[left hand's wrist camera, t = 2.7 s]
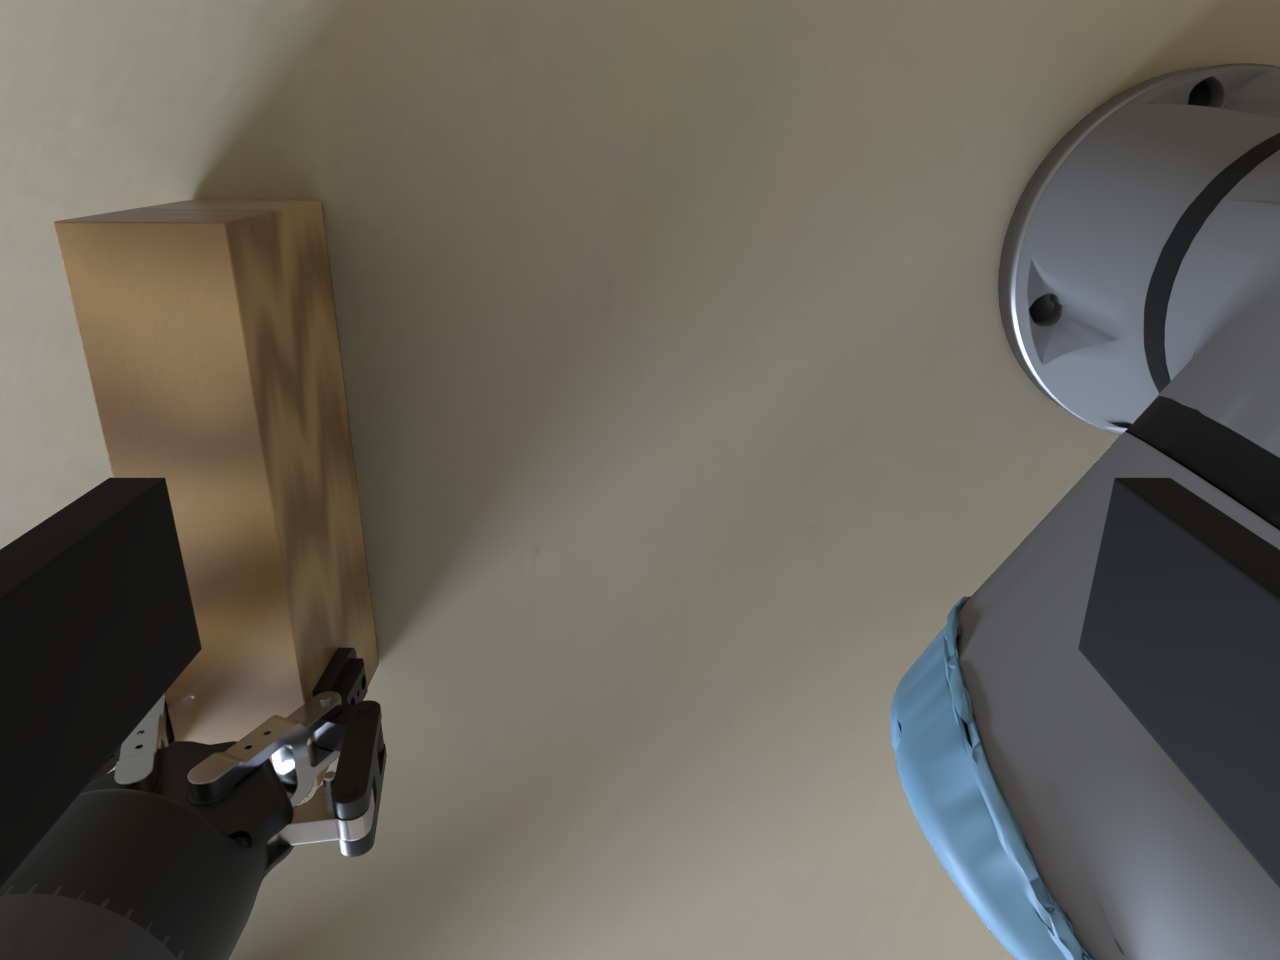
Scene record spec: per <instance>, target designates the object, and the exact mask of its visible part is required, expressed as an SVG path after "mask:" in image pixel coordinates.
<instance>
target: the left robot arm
mask: <svg viewBox="0 0 1280 960" xmlns="http://www.w3.org/2000/svg"><path fill="white" fill-rule="evenodd" d="M998 290H999V306H1000V312H1001V318H1002V323H1003V326H1004V330H1005V333H1006V337H1007V339H1008V342H1009V344H1010V347H1011V349H1012V352H1013V354H1014V355H1015V357H1016V359H1017V361H1018V363H1019V365H1020V366H1021V367H1022V369H1023V370H1024V372H1025V373H1026V375H1027V376H1028V377H1029V378H1030V380H1031V381H1032V382H1033V383H1034V384H1035V385H1036V386H1037V387H1038V388H1039V389H1040V390H1041V391H1042V392H1043V393H1044V394H1045V395H1046V396H1048V397H1049V398H1050V399H1051V400H1053V401H1054V402H1056V403H1057V404H1059V405H1060V406H1061V407H1063V408H1064V409H1066V410H1067V411H1069V412H1070V413H1072V414H1074V415H1075V416H1077V417H1078V418H1080V419H1082V420H1084V421H1085V422H1087V423H1089V424H1091V425H1093V426H1096V427H1098V428H1101V429H1103V430H1106V431H1109V432H1112V433H1116V434H1119V435H1121V436H1120V437H1119V438H1118V439H1117V440H1116V441H1115V442H1114V443H1113V445H1112V446H1111V447H1110V448H1109V449H1108V450H1107V451H1106V452H1105V453H1104V454H1103V456H1102V457H1101V458H1100V459H1099V460H1098V461H1097V462H1096V463H1095V464H1094V465H1093V466H1092V467H1091V468H1090V470H1089V471H1088V472H1087V473H1086V474H1085V475H1084V476H1083V477H1082V478H1081V479H1080V480H1079V481H1078V482H1077V484H1076V485H1075V486H1074V487H1073V488H1072V489H1071V490H1070V491H1069V492H1068V493H1067V494H1066V495H1065V496H1064V498H1063V499H1062V500H1061V501H1060V502H1059V503H1058V504H1057V505H1056V506H1055V507H1054V508H1053V509H1052V510H1051V511H1050V513H1049V514H1048V515H1047V516H1046V517H1045V518H1044V519H1043V520H1042V521H1041V522H1040V523H1039V524H1038V525H1037V527H1036V528H1035V529H1034V530H1033V531H1032V532H1031V533H1030V534H1029V535H1028V536H1027V537H1026V538H1025V539H1024V541H1023V542H1022V543H1021V544H1020V545H1019V546H1018V547H1017V548H1016V549H1015V550H1014V551H1013V552H1012V553H1011V554H1010V556H1009V557H1008V558H1007V559H1006V560H1005V561H1004V562H1003V563H1002V564H1001V565H1000V566H999V567H998V568H997V570H996V571H995V572H994V573H993V574H992V575H991V576H990V577H989V578H988V579H987V580H986V581H985V582H984V584H983V585H982V586H981V587H980V588H979V589H978V590H977V591H976V592H975V593H974V594H973V595H972V596H971V597H963V598H962V599H961V600H960V601H958V602H957V603H956V604H955V605H954V606H953V608H952V609H951V611H950V613H949V615H948V618H947V623H946V626H945V627H944V628H943V629H942V631H941V632H940V633H939V634H938V635H937V637H936V638H935V639H934V640H933V641H932V643H931V644H930V645H929V646H928V647H927V649H926V650H925V651H924V652H923V653H922V655H921V656H920V657H919V658H918V659H917V661H916V662H915V663H914V664H913V665H912V667H911V668H910V669H909V670H908V671H907V673H906V674H905V675H904V677H903V678H902V680H901V681H900V683H899V685H898V687H897V690H896V692H895V695H894V698H893V702H892V706H891V712H890V729H891V742H892V745H893V748H894V752H895V755H896V765H897V771H898V774H899V777H900V780H901V783H902V785H903V788H904V790H905V793H906V795H907V798H908V801H909V803H910V805H911V807H912V810H913V812H914V814H915V816H916V818H917V820H918V822H919V824H920V826H921V828H922V830H923V832H924V834H925V836H926V837H927V839H928V841H929V843H930V844H931V846H932V848H933V850H934V851H935V853H936V855H937V856H938V858H939V860H940V861H941V863H942V864H943V866H944V868H945V869H946V871H947V872H948V874H949V875H950V877H951V878H952V880H953V881H954V883H955V884H956V885H957V887H958V888H959V890H960V891H961V893H962V894H963V896H964V897H965V898H966V900H967V901H968V902H969V904H970V905H971V906H972V908H973V909H974V910H975V912H976V913H977V914H978V916H979V917H980V918H981V919H982V921H983V922H984V923H985V925H986V926H987V927H988V928H989V929H990V931H991V932H992V933H993V934H994V935H995V937H996V938H997V939H998V940H999V941H1000V942H1001V943H1002V945H1003V946H1004V947H1005V948H1006V949H1007V950H1008V951H1009V952H1010V953H1011V954H1012V955H1013V956H1014V957H1015V958H1016V959H1017V960H1280V67H1277V66H1272V65H1262V64H1227V65H1218V66H1209V67H1201V68H1192V69H1186V70H1181V71H1177V72H1172V73H1168V74H1165V75H1162V76H1159V77H1156V78H1153V79H1150V80H1148V81H1145V82H1143V83H1141V84H1138V85H1136V86H1134V87H1132V88H1130V89H1128V90H1126V91H1124V92H1122V93H1120V94H1119V95H1117V96H1115V97H1113V98H1112V99H1110V100H1109V101H1107V102H1106V103H1104V104H1103V105H1101V106H1100V107H1098V108H1096V109H1095V110H1094V111H1093V112H1091V113H1090V114H1089V115H1088V116H1086V117H1085V118H1084V119H1083V120H1081V121H1080V122H1079V123H1078V124H1077V125H1076V126H1075V127H1074V128H1073V129H1071V130H1070V131H1069V132H1068V133H1067V134H1066V135H1065V136H1064V137H1063V138H1062V139H1061V140H1060V142H1059V143H1058V144H1057V145H1056V146H1055V147H1054V148H1053V149H1052V150H1051V152H1050V153H1049V154H1048V156H1047V157H1046V158H1045V159H1044V161H1043V162H1042V163H1041V165H1040V166H1039V167H1038V169H1037V170H1036V172H1035V174H1034V175H1033V177H1032V178H1031V180H1030V181H1029V183H1028V185H1027V187H1026V188H1025V190H1024V192H1023V194H1022V196H1021V198H1020V200H1019V202H1018V204H1017V206H1016V209H1015V211H1014V213H1013V216H1012V218H1011V221H1010V224H1009V227H1008V230H1007V233H1006V236H1005V241H1004V245H1003V249H1002V254H1001V261H1000V268H999V287H998ZM201 649H202V647H201V642H200V637H199V633H198V628H197V623H196V619H195V614H194V610H193V605H192V600H191V596H190V591H189V586H188V582H187V577H186V572H185V568H184V563H183V558H182V554H181V549H180V544H179V540H178V535H177V530H176V526H175V521H174V516H173V512H172V507H171V502H170V498H169V493H168V488H167V484H166V479H165V478H109V479H107V480H106V481H104V482H103V483H101V484H100V485H98V486H97V487H95V488H93V489H92V490H90V491H89V492H87V493H86V494H84V495H83V496H81V497H80V498H78V499H77V500H75V501H74V502H72V503H71V504H69V505H68V506H66V507H65V508H63V509H62V510H60V511H59V512H57V513H56V514H54V515H52V516H51V517H49V518H48V519H46V520H45V521H43V522H42V523H40V524H39V525H37V526H36V527H34V528H33V529H31V530H30V531H28V532H27V533H25V534H24V535H22V536H21V537H19V538H18V539H16V540H15V541H13V542H11V543H10V544H8V545H7V546H5V547H4V548H2V549H1V550H0V888H1V887H2V886H3V885H4V883H5V882H6V881H7V880H8V879H9V877H10V876H11V875H12V874H13V873H14V871H15V870H16V869H17V868H18V867H19V866H20V864H21V863H22V862H23V861H24V860H25V858H26V857H27V856H28V855H29V854H30V852H31V851H32V850H33V849H34V848H35V847H36V845H37V844H38V843H39V842H40V841H41V839H42V838H43V837H44V836H45V835H46V833H47V832H48V831H49V830H50V829H51V828H52V826H53V825H54V824H55V823H56V822H57V820H58V819H59V818H60V817H61V816H62V814H63V813H64V812H65V811H66V810H67V809H68V807H69V806H70V805H71V804H72V803H73V801H74V800H75V799H76V798H77V797H78V795H79V794H80V793H81V792H82V791H83V790H84V788H85V787H86V786H87V785H88V784H89V782H90V781H91V780H92V779H93V778H94V776H95V775H96V774H97V773H98V772H99V771H100V769H101V768H102V767H103V766H104V765H105V763H106V762H107V761H108V760H109V759H110V757H111V756H112V755H113V754H114V753H115V752H116V750H117V749H118V748H119V747H120V746H121V744H122V743H123V742H124V741H125V740H126V738H127V737H128V736H129V735H130V734H131V733H132V731H133V730H134V729H135V728H136V727H137V725H138V724H139V723H140V722H141V721H142V719H143V718H144V717H145V716H146V715H147V714H148V712H149V711H150V710H151V709H152V708H153V706H154V705H155V704H156V703H157V702H158V700H159V699H160V698H161V697H162V696H163V695H164V693H165V692H166V691H167V690H168V689H169V687H170V686H171V685H172V684H173V683H174V681H175V680H176V679H177V678H178V677H179V676H180V674H181V673H182V672H183V671H184V670H185V668H186V667H187V666H188V665H189V664H190V662H191V661H192V660H193V659H194V658H195V657H196V655H197V654H198V653H199V652H200V651H201Z"/></svg>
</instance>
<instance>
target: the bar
mask: <svg viewBox="0 0 1280 960" xmlns="http://www.w3.org/2000/svg"><path fill="white" fill-rule="evenodd" d="M54 226H55V230H56V235H57V239H58V243H59V248H60V252H61V256H62V260H63V265H64V269H65V273H66V277H67V282H68V286H69V290H70V294H71V299H72V303H73V307H74V311H75V316H76V320H77V324H78V329H79V333H80V337H81V341H82V346H83V350H84V354H85V358H86V363H87V367H88V371H89V375H90V380H91V384H92V388H93V392H94V397H95V401H96V405H97V410H98V414H99V418H100V422H101V427H102V431H103V435H104V439H105V444H106V448H107V452H108V456H109V461H110V465H111V469H112V473H113V478H165V479H166V484H167V488H168V493H169V498H170V502H171V507H172V512H173V516H174V521H175V526H176V530H177V535H178V540H179V544H180V549H181V554H182V558H183V563H184V568H185V572H186V577H187V582H188V586H189V591H190V596H191V600H192V605H193V610H194V614H195V619H196V623H197V628H198V633H199V637H200V642H201V647H202V649H201V651H200V652H199V653H198V654H197V655H196V657H195V658H194V659H193V660H192V661H191V662H190V664H189V665H188V666H187V667H186V668H185V670H184V671H183V672H182V673H181V674H180V676H179V677H178V678H177V679H176V680H175V681H174V683H173V684H172V685H171V686H170V687H169V689H168V690H167V691H166V692H165V693H164V695H165V699H166V704H167V708H168V712H169V716H170V721H171V725H172V729H173V734H174V738H175V741H193V742H198V743H203V744H207V745H212V744H219V743H225V742H232V741H239V740H241V739H242V738H243V737H245V736H246V735H247V734H249V733H250V732H251V731H253V730H254V729H256V728H257V727H258V726H260V725H261V724H262V723H264V722H265V721H266V720H268V719H269V718H270V717H272V716H274V715H279V716H282V717H285V718H286V717H288V716H289V715H290V714H292V713H293V712H294V711H296V710H297V709H298V708H300V707H301V706H302V705H304V704H305V703H306V702H308V701H309V700H310V699H312V698H313V693H312V691H313V690H314V688H315V686H316V684H317V683H318V681H319V679H320V678H321V676H322V674H323V672H324V671H325V669H326V667H327V666H328V664H329V662H330V660H331V659H332V657H333V655H334V654H335V652H336V650H337V649H338V648H339V647H342V648H355V650H356V655H357V658H363V661H364V667H365V674H366V682H367V687H368V685H369V683H370V681H371V679H372V677H373V675H374V673H375V671H376V669H377V667H378V665H379V659H378V651H377V643H376V635H375V627H374V619H373V611H372V603H371V595H370V587H369V579H368V571H367V563H366V555H365V547H364V539H363V531H362V523H361V515H360V507H359V499H358V491H357V483H356V475H355V467H354V459H353V451H352V443H351V435H350V427H349V419H348V411H347V403H346V395H345V387H344V379H343V371H342V363H341V355H340V347H339V339H338V331H337V323H336V315H335V307H334V299H333V291H332V283H331V275H330V267H329V259H328V251H327V243H326V235H325V227H324V219H323V211H322V203H321V201H301V200H187V201H181V202H174V203H168V204H162V205H156V206H149V207H143V208H137V209H130V210H124V211H118V212H111V213H105V214H99V215H92V216H86V217H80V218H73V219H67V220H61V221H55V222H54ZM314 740H315V738H314V733H313V734H312V735H311V736H310V737H309V739H308V742H307V746H308V745H309V744H311V743H312V742H313V741H314ZM269 759H270V761H271V763H272V765H273V761H272V756H270V757H269ZM273 767H274V766H273ZM328 767H329V766H328ZM328 767H326V768H325V769H324V770H323V771H322V772H321V773H320V774H318V775H317V777H316V778H315V781H314V785H313V787H319V785H320V783H321V781H322V779H323V775H324V774H325V773H326V771H327V769H328Z"/></svg>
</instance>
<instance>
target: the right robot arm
mask: <svg viewBox="0 0 1280 960" xmlns="http://www.w3.org/2000/svg"><path fill="white" fill-rule="evenodd" d="M367 691H368V689H367V682H366V674H365V667H364V661H363V658H357V655H356V650H355V648H342V647H339V648H338V649H337V650H336V652H335V654H334V655H333V657H332V659H331V660H330V662H329V664H328V666H327V667H326V669H325V671H324V672H323V674H322V676H321V678H320V679H319V681H318V683H317V684H316V686H315V688H314V690H313V691H312V693H313V698H312V699H310V700H309V701H308V702H306V703H305V704H304V705H302V706H301V707H300V708H298V709H297V710H296V711H294V712H293V713H292V714H290V715H289V716H288V717H286V718H285V717H282V716H279V715H274V716H272V717H270V718H269V719H268V720H266V721H265V722H264V723H262V724H261V725H260V726H258V727H257V728H256V729H254V730H253V731H251V732H250V733H249V734H247V735H246V736H245V737H243V738H242V739H241V740H239V741H232V742H225V743H219V744H212V745H207V744H203V743H198V742H193V741H175V738H174V734H173V729H172V725H171V721H170V716H169V712H168V708H167V704H166V699H165V695H163V696H162V697H161V698H160V699H159V700H158V702H157V703H156V704H155V705H154V706H153V708H152V709H151V710H150V711H149V712H148V714H147V715H146V716H145V717H144V718H143V719H142V721H141V722H140V723H139V724H138V725H137V727H136V728H135V729H134V730H133V731H132V733H131V734H130V735H129V736H128V737H127V738H126V740H125V741H124V742H123V743H122V744H121V746H120V747H119V748H118V749H117V750H116V752H115V753H114V754H113V755H112V756H111V757H110V759H109V760H108V761H107V762H106V763H105V765H104V766H103V767H102V768H101V769H100V771H99V772H98V773H97V774H96V775H95V776H94V778H93V779H92V780H91V781H90V782H89V784H88V785H87V786H86V787H85V788H84V790H83V791H82V792H81V793H80V794H79V795H78V797H77V798H76V799H75V800H74V801H73V803H72V804H71V805H70V806H69V807H68V809H67V810H66V811H65V812H64V813H63V814H62V816H61V817H60V818H59V819H58V820H57V822H56V823H55V824H54V825H53V826H52V828H51V829H50V830H49V831H48V832H47V833H46V835H45V836H44V837H43V838H42V839H41V841H40V842H39V843H38V844H37V845H36V847H35V848H34V849H33V850H32V851H31V852H30V854H29V855H28V856H27V857H26V858H25V860H24V861H23V862H22V863H21V864H20V866H19V867H18V868H17V869H16V870H15V871H14V873H13V874H12V875H11V876H10V877H9V879H8V880H7V881H6V882H5V883H4V885H3V886H2V887H1V888H0V960H228V959H229V957H230V955H231V953H232V951H233V949H234V947H235V945H236V943H237V941H238V939H239V937H240V935H241V933H242V931H243V929H244V927H245V925H246V923H247V921H248V918H249V916H250V913H251V911H252V908H253V905H254V902H255V899H256V896H257V893H258V890H259V887H260V885H261V882H262V880H263V879H264V877H265V876H266V875H267V874H268V873H269V872H270V870H271V869H273V868H274V867H275V866H276V865H277V864H278V863H280V862H281V861H282V860H283V859H285V858H286V856H287V855H288V854H289V853H290V852H291V850H292V849H293V847H294V845H298V844H306V843H315V842H323V841H331V840H338V842H339V848H340V852H341V853H342V854H343V855H345V856H348V857H357V856H360V855H363V854H365V853H366V852H368V851H369V850H370V849H371V848H372V846H373V844H374V839H375V832H376V826H377V819H378V812H379V805H380V798H381V791H382V784H383V777H384V770H385V763H386V756H387V755H386V747H385V744H384V741H383V733H382V725H381V717H382V715H381V708H380V704H379V703H377V702H375V701H363V700H364V698H365V695H366V693H367ZM313 733H314V738H315V740H314V741H313V742H312V743H311V744H309V745H308V746H307V742H308V739H309V737H310V736H311V735H312V734H313ZM270 756H272V761H273V765H272V763H271V761H270V759H269V757H270ZM338 757H339V761H338V765H337V770H336V773H335V772H327V773H326V774H324V775H323V785H322V786H320V787H319V788H318V789H317V791H316V792H315V795H314V796H313V798H312V799H310V800H309V801H308V802H306V803H304V804H302V805H299V806H296V805H297V804H298V803H300V802H301V801H302V800H303V799H304V798H305V797H306V796H307V795H308V794H309V793H310V792H311V790H312V788H313V785H314V781H315V778H316V777H317V775H318V774H320V773H321V772H322V771H323V770H324V769H325V768H326V767H328V766H329V765H330V764H331V763H332V762H333V761H335V760H336V759H337V758H338ZM114 766H116V768H115V770H113V771H112V772H110V773H108V772H109V771H110V770H111V769H112V768H113V767H114ZM273 766H274V767H273ZM107 773H108V774H107Z"/></svg>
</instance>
